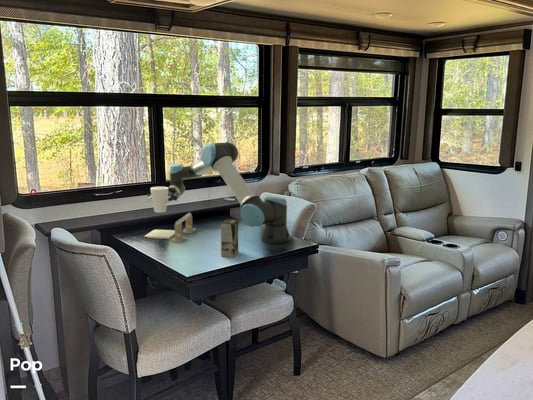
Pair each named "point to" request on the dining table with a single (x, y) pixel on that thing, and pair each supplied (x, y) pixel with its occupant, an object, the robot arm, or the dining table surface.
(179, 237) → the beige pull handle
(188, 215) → the steel bar
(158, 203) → the foam cup
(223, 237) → the coffee box
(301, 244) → the dining table surface
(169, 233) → the cream pad
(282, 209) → the robot arm
